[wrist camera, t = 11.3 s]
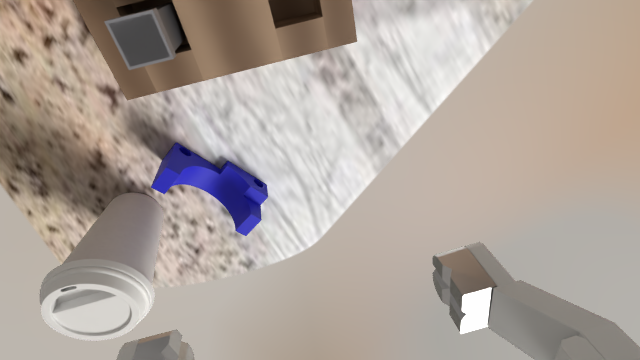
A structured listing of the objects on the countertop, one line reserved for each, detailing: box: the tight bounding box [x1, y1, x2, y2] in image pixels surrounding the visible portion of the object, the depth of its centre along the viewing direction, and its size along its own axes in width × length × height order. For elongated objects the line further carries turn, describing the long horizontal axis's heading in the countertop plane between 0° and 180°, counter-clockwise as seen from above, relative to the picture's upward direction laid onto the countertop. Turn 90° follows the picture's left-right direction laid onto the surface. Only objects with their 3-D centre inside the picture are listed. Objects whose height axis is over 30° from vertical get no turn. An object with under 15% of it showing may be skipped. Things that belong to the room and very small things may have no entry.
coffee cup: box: [40, 193, 164, 340], centre depth 37 cm, size 10×10×15 cm
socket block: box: [73, 0, 357, 100], centre depth 31 cm, size 22×10×5 cm, turn 101°
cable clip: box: [151, 142, 268, 236], centre depth 40 cm, size 12×4×6 cm, turn 47°
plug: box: [104, 2, 186, 70], centre depth 28 cm, size 3×3×9 cm
